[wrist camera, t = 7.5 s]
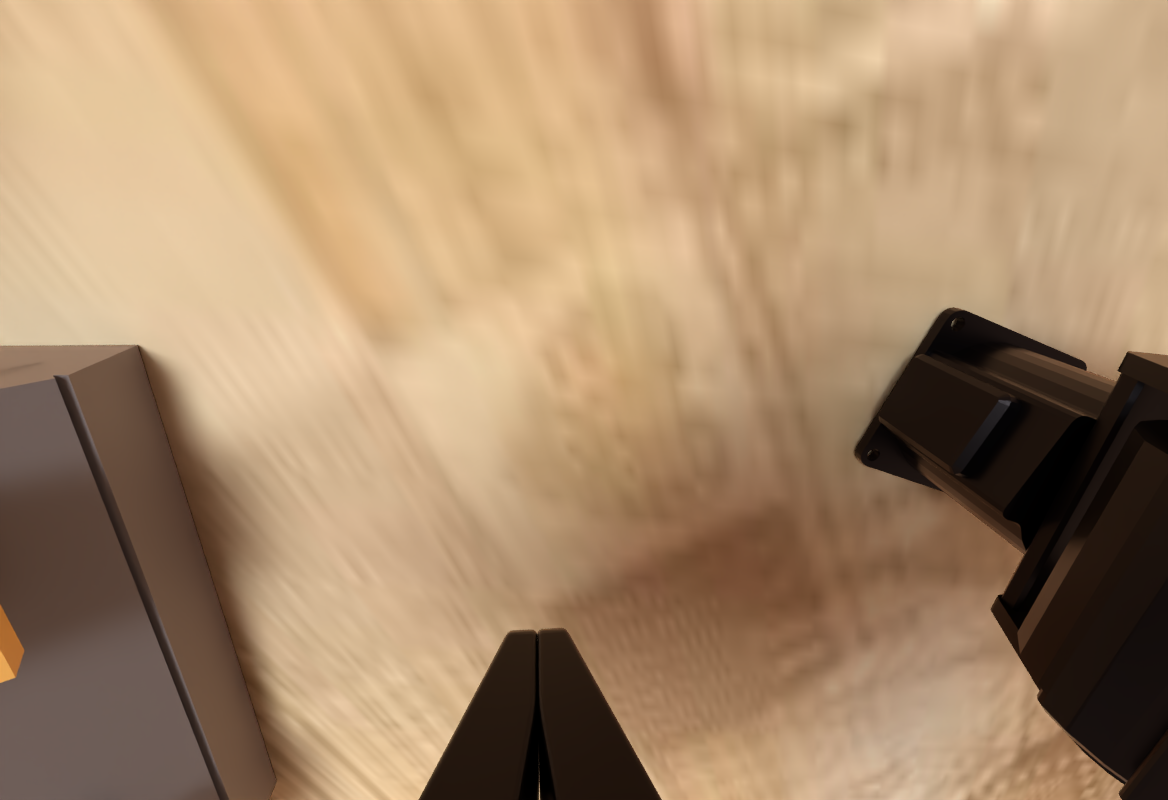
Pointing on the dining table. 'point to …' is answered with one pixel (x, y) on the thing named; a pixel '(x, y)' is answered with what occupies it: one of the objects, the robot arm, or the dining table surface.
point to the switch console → (110, 598)
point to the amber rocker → (9, 649)
